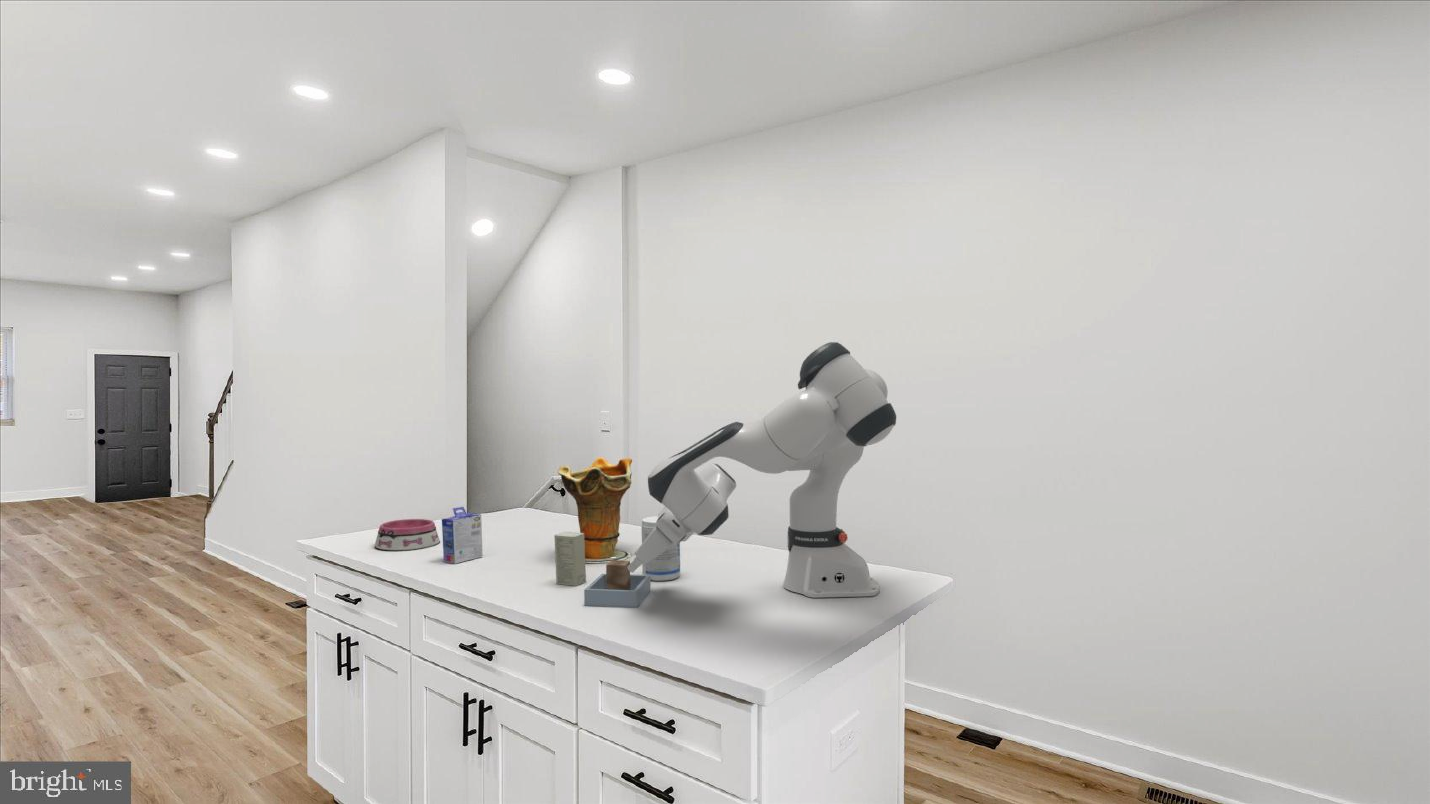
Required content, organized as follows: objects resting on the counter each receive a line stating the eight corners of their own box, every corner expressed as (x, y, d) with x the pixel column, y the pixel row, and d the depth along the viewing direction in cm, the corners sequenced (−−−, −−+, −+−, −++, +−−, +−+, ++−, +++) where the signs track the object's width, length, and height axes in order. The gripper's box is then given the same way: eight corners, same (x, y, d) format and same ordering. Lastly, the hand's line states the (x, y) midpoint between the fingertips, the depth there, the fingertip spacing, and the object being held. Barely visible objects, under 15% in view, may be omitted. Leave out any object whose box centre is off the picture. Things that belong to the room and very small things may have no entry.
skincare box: (586, 582, 181) (585, 533, 181) (575, 586, 177) (575, 536, 177) (565, 579, 184) (564, 531, 183) (554, 583, 180) (553, 534, 179)
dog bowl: (453, 541, 230) (452, 519, 229) (405, 554, 213) (405, 531, 212) (409, 536, 237) (409, 515, 237) (360, 549, 220) (360, 526, 220)
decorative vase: (543, 562, 199) (545, 459, 200) (583, 548, 221) (584, 455, 222) (614, 568, 193) (615, 461, 194) (647, 552, 215) (648, 457, 216)
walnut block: (630, 595, 170) (630, 560, 170) (625, 600, 165) (625, 565, 165) (611, 594, 170) (611, 560, 170) (606, 600, 166) (606, 564, 166)
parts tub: (650, 589, 174) (650, 575, 174) (636, 607, 160) (636, 591, 160) (602, 588, 176) (601, 573, 175) (584, 605, 162) (584, 589, 162)
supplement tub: (687, 578, 184) (686, 519, 184) (653, 584, 179) (653, 523, 178) (668, 569, 192) (667, 513, 192) (635, 575, 187) (634, 517, 186)
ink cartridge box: (470, 554, 211) (469, 504, 211) (483, 557, 208) (482, 506, 208) (441, 562, 203) (440, 509, 202) (454, 564, 200) (453, 511, 199)
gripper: (675, 504, 176) (635, 544, 177) (658, 520, 155) (613, 565, 157) (694, 523, 175) (654, 563, 177) (679, 541, 155) (634, 586, 156)
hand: (634, 564), depth 167 cm, fingers open, 8 cm apart
